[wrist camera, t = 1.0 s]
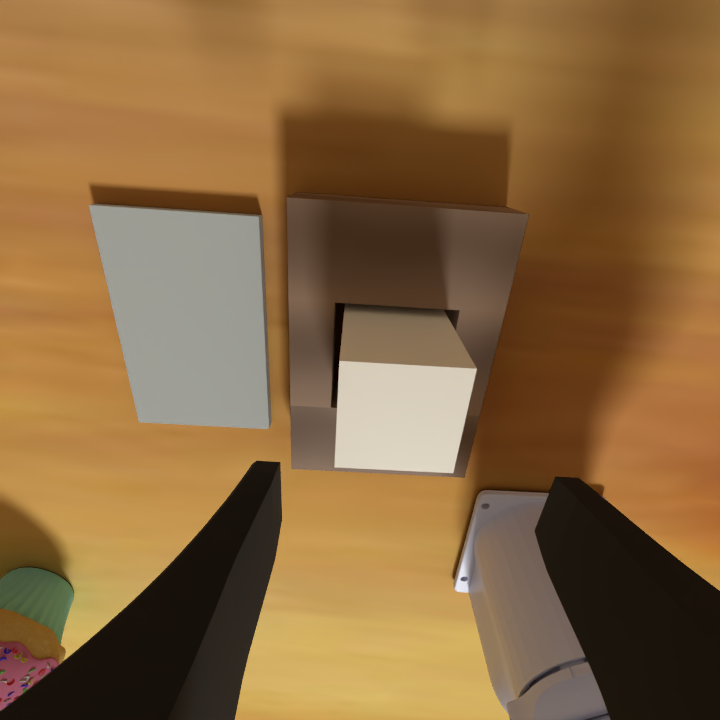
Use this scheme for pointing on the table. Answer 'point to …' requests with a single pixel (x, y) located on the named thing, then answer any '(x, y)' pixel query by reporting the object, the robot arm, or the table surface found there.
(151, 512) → the table surface
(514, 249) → the pocket board
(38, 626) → the cupcake
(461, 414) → the cream block
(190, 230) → the grey mat
